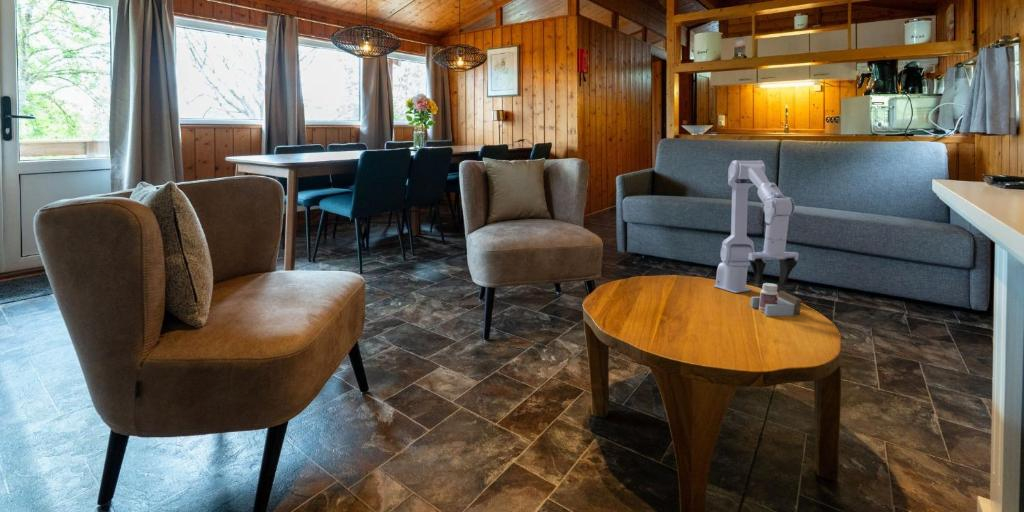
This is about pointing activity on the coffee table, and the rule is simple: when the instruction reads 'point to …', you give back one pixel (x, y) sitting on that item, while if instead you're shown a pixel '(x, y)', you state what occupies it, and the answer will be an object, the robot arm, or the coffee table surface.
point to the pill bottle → (768, 295)
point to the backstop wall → (791, 301)
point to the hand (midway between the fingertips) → (770, 283)
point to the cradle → (775, 307)
